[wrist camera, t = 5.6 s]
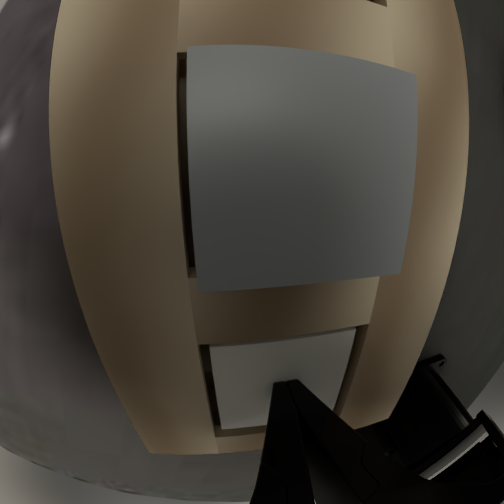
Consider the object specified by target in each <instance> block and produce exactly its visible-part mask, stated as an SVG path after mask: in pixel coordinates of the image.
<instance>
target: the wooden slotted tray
mask: <svg viewBox="0 0 504 504" xmlns="http://www.w3.org/2000/svg"><path fill="white" fill-rule="evenodd" d="M201 45H263V46H278V47H289V48H299V49H307V50H314V51H321V52H327V53H333V54H339V55H344V56H349V57H354V58H358V59H363V60H367V61H371V62H375V63H379V64H383V65H386V66H390V67H393V68H397V69H400V70H403V71H406V72H410V73H413V74H416V79H417V104H418V129H417V155H416V170H415V182H414V192H413V201H412V209H411V216H410V223H409V229H408V236H407V241H406V247H405V252H404V258H403V263H402V267H401V272H400V274H393V275H385V276H377V277H368V278H360V279H351V280H342V281H333V282H324V283H314V284H304V285H293V286H282V287H271V288H259V289H246V290H233V291H218V292H203V293H198V284H197V274H196V264H195V254H194V243H193V231H192V218H191V203H190V187H189V167H188V142H187V46H201ZM49 138H50V155H51V167H52V177H53V185H54V193H55V200H56V207H57V213H58V218H59V224H60V229H61V234H62V239H63V244H64V248H65V252H66V256H67V261H68V265H69V268H70V272H71V276H72V279H73V283H74V286H75V290H76V293H77V296H78V300H79V303H80V306H81V309H82V312H83V315H84V318H85V321H86V323H87V326H88V329H89V332H90V334H91V337H92V340H93V342H94V345H95V347H96V350H97V352H98V355H99V357H100V359H101V362H102V364H103V366H104V368H105V371H106V373H107V375H108V377H109V379H110V382H111V384H112V386H113V388H114V390H115V392H116V394H117V396H118V398H119V400H120V402H121V404H122V406H123V408H124V410H125V411H126V413H127V415H128V417H129V419H130V421H131V422H132V424H133V426H134V428H135V429H136V431H137V433H138V435H139V436H140V438H141V440H142V441H143V443H144V444H145V446H146V448H147V449H148V451H149V452H150V454H216V453H231V452H242V451H251V450H259V449H263V445H264V439H265V433H266V426H267V425H261V426H253V427H244V428H233V429H222V427H221V422H220V416H219V410H218V404H217V397H216V391H215V384H214V378H213V371H212V364H211V357H210V349H209V344H217V343H230V342H242V341H253V340H262V339H272V338H280V337H288V336H296V335H303V334H310V333H317V332H324V331H330V330H336V329H342V328H348V327H355V328H356V332H355V336H354V340H353V344H352V348H351V352H350V356H349V360H348V363H347V367H346V370H345V374H344V377H343V381H342V384H341V387H340V390H339V394H338V397H337V400H336V403H335V406H334V409H333V412H334V413H336V414H337V415H338V416H339V417H340V418H341V419H342V420H344V421H345V422H346V423H347V424H348V425H349V426H350V427H352V428H353V429H358V428H361V427H364V426H367V425H370V424H373V423H376V422H379V421H382V420H385V419H388V418H389V416H390V415H391V413H392V411H393V409H394V407H395V406H396V404H397V402H398V400H399V398H400V396H401V394H402V392H403V390H404V388H405V386H406V384H407V382H408V380H409V378H410V376H411V374H412V372H413V370H414V367H415V365H416V363H417V361H418V358H419V356H420V354H421V351H422V349H423V347H424V344H425V342H426V339H427V337H428V334H429V331H430V329H431V326H432V323H433V321H434V318H435V315H436V312H437V309H438V306H439V303H440V300H441V297H442V294H443V290H444V287H445V283H446V280H447V276H448V273H449V269H450V265H451V261H452V257H453V253H454V249H455V244H456V239H457V234H458V229H459V224H460V218H461V212H462V206H463V199H464V192H465V183H466V174H467V161H468V144H469V101H468V84H467V72H466V63H465V55H464V48H463V42H462V36H461V31H460V26H459V21H458V16H457V12H456V8H455V4H454V0H369V1H367V0H61V5H60V9H59V14H58V19H57V25H56V31H55V37H54V44H53V52H52V61H51V72H50V89H49Z"/></svg>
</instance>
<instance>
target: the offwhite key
mask: <svg viewBox="0 0 504 504" xmlns="http://www.w3.org/2000/svg"><path fill="white" fill-rule="evenodd" d="M355 332H356V328H355V327H348V328H342V329H336V330H330V331H324V332H317V333H310V334H303V335H296V336H288V337H280V338H272V339H262V340H253V341H242V342H230V343H217V344H209V349H210V357H211V364H212V371H213V378H214V384H215V391H216V397H217V404H218V410H219V416H220V422H221V427H222V429H233V428H244V427H253V426H261V425H267V420H268V414H269V407H270V401H271V394H272V387H273V383H274V382H279V381H285V382H286V381H287V380H293V379H298V380H299V381H301V382H302V383H303V384H304V385H305V386H306V387H307V388H308V389H309V390H310V391H311V392H312V393H313V394H315V395H316V396H317V397H318V398H319V399H320V400H321V401H322V402H323V403H324V404H326V405H327V406H328V407H329V408H330V409H331V410H332V411H333V409H334V406H335V403H336V400H337V397H338V394H339V390H340V387H341V384H342V381H343V377H344V374H345V370H346V367H347V363H348V360H349V356H350V352H351V348H352V344H353V340H354V336H355Z"/></svg>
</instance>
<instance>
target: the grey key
mask: <svg viewBox="0 0 504 504" xmlns="http://www.w3.org/2000/svg"><path fill="white" fill-rule="evenodd" d="M417 129H418V104H417V79H416V74H413V73H410V72H406V71H403V70H400V69H397V68H393V67H390V66H386V65H383V64H379V63H375V62H371V61H367V60H363V59H358V58H354V57H349V56H344V55H339V54H333V53H327V52H321V51H314V50H307V49H299V48H289V47H278V46H263V45H201V46H187V142H188V167H189V187H190V203H191V218H192V231H193V243H194V254H195V264H196V274H197V284H198V293H203V292H218V291H233V290H246V289H259V288H271V287H282V286H293V285H304V284H314V283H324V282H333V281H342V280H351V279H360V278H368V277H377V276H385V275H393V274H400V272H401V267H402V263H403V258H404V252H405V247H406V241H407V236H408V229H409V223H410V216H411V209H412V201H413V192H414V182H415V170H416V155H417Z"/></svg>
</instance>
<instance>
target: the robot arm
mask: <svg viewBox="0 0 504 504" xmlns="http://www.w3.org/2000/svg"><path fill="white" fill-rule="evenodd" d="M446 361H447V359H446V358H445V357H444V356H443V355H441V356H439V357H436V358H433V359H431V360H428V361H425V362H423V363H420V364H417V365H415V367H414V370H413V372H412V374H411V376H410V378H409V380H408V382H407V384H406V386H405V388H404V390H403V392H402V394H401V396H400V398H399V400H398V402H397V404H396V406H395V407H394V409H393V411H392V413H391V415H390V416H389V418H388V419H385V420H382V421H379V422H376V423H373V424H370V425H367V426H364V427H361V428H358V429H353V428H352V427H350V426H349V425H348V424H347V423H346V422H345V421H344V420H342V419H341V418H340V417H339V416H338V415H337V414H336V413H334V412H333V411H332V410H331V409H330V408H329V407H328V406H327V405H326V404H324V403H323V402H322V401H321V400H320V399H319V398H318V397H317V396H316V395H315V394H313V393H312V392H311V391H310V390H309V389H308V388H307V387H306V386H305V385H304V384H303V383H302V382H301V381H299V380H298V379H293V380H287V381H286V382H285V381H279V382H274V383H273V387H272V394H271V401H270V407H269V414H268V420H267V426H266V433H265V439H264V445H263V450H262V456H261V462H260V467H259V472H258V477H257V481H256V486H255V489H254V492H253V495H252V498H251V501H250V504H315V502H316V504H504V434H503V433H502V432H501V430H500V429H499V428H498V426H497V425H496V424H495V422H494V421H493V420H492V418H491V417H490V416H489V415H488V414H487V413H486V412H485V411H484V410H481V411H480V412H479V413H478V414H477V416H476V418H475V419H473V418H472V417H471V416H470V414H469V413H468V411H467V410H466V409H465V407H464V406H463V405H462V403H461V402H460V401H459V400H458V398H457V397H456V396H455V394H454V393H453V392H452V391H451V389H450V388H449V387H448V386H447V384H446V383H445V382H444V381H443V379H442V378H441V377H440V376H439V375H440V373H441V371H442V369H443V367H444V365H445V363H446ZM486 431H487V432H488V434H489V435H488V437H486V438H485V439H484V440H483V441H482V442H481V443H480V442H478V443H477V444H476V445H475V446H474V447H472V448H471V449H470V450H469V451H468V452H467V453H465V454H464V455H463V456H462V457H460V458H459V459H458V460H457V461H455V462H454V463H453V464H452V465H450V466H449V467H448V468H446V469H445V470H444V471H442V472H441V473H439V474H438V475H437V476H435V477H434V478H432V479H431V480H428V479H427V478H429V477H430V476H432V475H433V474H435V473H436V472H438V471H439V470H440V469H442V468H443V467H444V466H446V465H447V464H448V463H450V462H451V461H452V460H454V459H455V458H456V457H457V456H458V455H460V454H461V453H462V452H463V451H465V450H466V449H467V448H468V447H469V446H470V445H472V444H473V443H474V442H475V441H476V440H477V439H478V438H479V437H481V436H482V434H484V433H485V432H486ZM496 446H497V447H496ZM314 499H315V502H314Z"/></svg>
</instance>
